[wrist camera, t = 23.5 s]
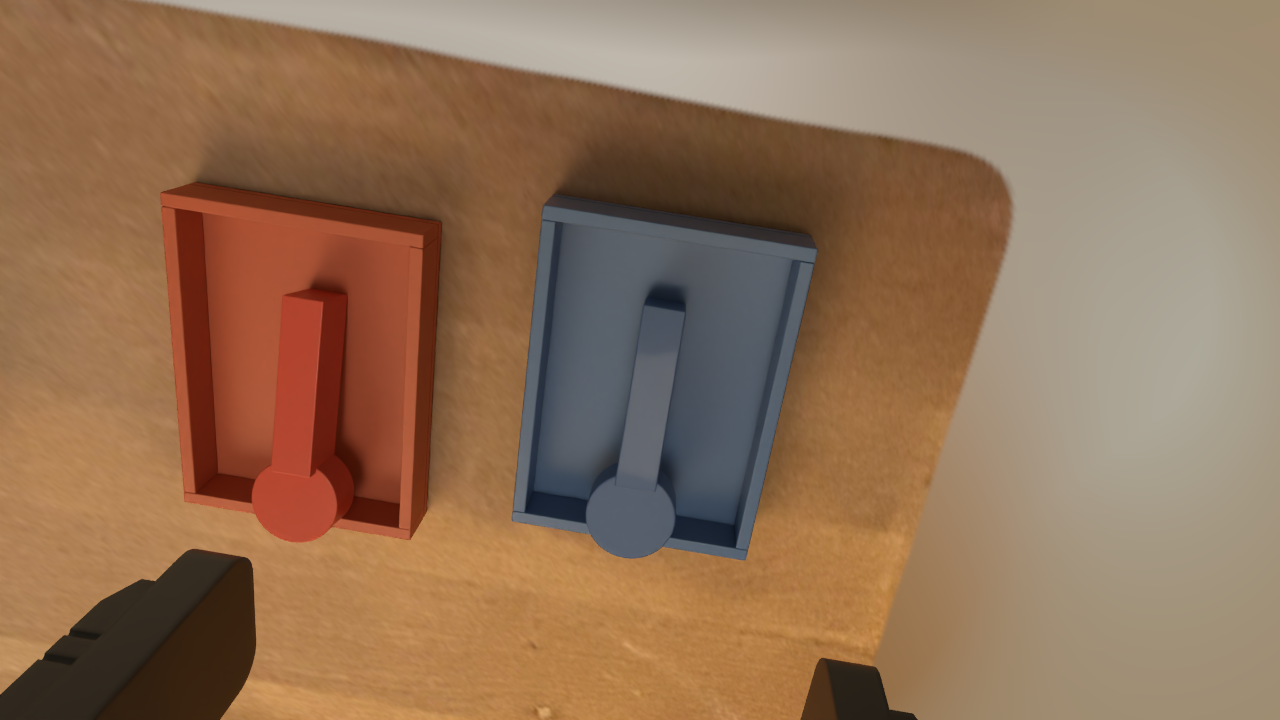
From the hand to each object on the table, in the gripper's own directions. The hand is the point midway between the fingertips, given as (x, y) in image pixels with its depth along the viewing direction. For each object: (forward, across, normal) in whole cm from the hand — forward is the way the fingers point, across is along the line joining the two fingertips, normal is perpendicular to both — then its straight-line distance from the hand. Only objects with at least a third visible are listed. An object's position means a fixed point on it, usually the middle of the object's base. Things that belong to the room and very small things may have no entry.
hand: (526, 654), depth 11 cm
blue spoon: (+25, -1, +8) cm, 26 cm away
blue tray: (+26, -1, +7) cm, 27 cm away
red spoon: (+25, +14, +10) cm, 30 cm away
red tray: (+26, +15, +9) cm, 31 cm away
